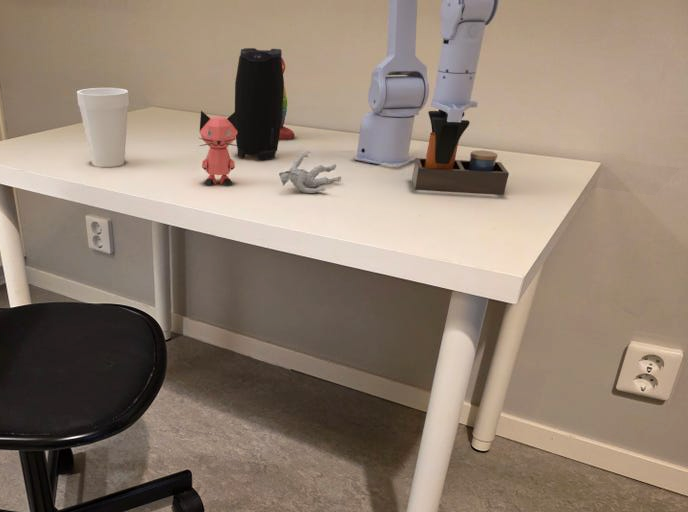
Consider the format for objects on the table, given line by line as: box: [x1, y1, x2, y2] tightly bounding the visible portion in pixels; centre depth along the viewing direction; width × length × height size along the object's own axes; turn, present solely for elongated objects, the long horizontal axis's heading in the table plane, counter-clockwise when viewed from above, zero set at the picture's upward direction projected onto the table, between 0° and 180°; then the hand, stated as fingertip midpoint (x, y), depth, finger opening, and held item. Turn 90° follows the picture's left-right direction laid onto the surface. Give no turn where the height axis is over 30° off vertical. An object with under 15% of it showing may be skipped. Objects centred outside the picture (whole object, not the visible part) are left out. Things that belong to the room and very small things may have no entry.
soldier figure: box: [278, 150, 342, 194], centre depth 108 cm, size 8×5×12 cm
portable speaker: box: [234, 47, 285, 161], centre depth 124 cm, size 9×9×20 cm
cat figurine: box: [198, 110, 239, 186], centre depth 109 cm, size 7×7×12 cm
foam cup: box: [76, 87, 130, 168], centre depth 121 cm, size 10×9×13 cm
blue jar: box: [468, 150, 499, 171], centre depth 107 cm, size 4×4×6 cm
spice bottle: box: [424, 131, 460, 169], centre depth 106 cm, size 5×5×8 cm
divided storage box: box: [411, 157, 510, 196], centre depth 108 cm, size 7×14×4 cm, turn 78°
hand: (440, 159), depth 107 cm, fingers closed on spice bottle, 5 cm apart
